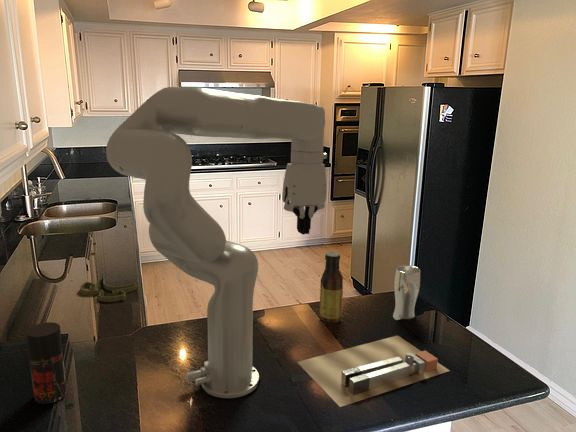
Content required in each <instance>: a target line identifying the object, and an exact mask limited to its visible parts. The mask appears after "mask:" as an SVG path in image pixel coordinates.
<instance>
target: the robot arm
mask: <svg viewBox="0 0 576 432" xmlns="http://www.w3.org/2000/svg"><path fill="white" fill-rule="evenodd" d="M325 111H326V110H325V108H324V107H323V106H321V105H317V104H314V103H310V102H303V101H297V100H289V99H287V100H285V99H279V98H273V97H269V96H268V97H267V96H262V95H256V94H248V93H242V92H233V91H227V90H221V89H214V88H207V87H202V86H201V87H199V86H167V87H163V88H161V89H160V90H158V91H156V92H155V93H153V94H152V95H151V96H150V97H149V98H148V99H146V100H145V101H144V102H143V103H142V104H141V105H140V106H139V107H138V108H137V109H136V110H134V112H133V113H132V114H130V116H128V117H127V118H126V119H125V120H124V121H123V122H121V124H120V125H119V126H118V127H117V128H116V129H115V130H114V131H113V132H112V134H111V135H110V137H109V138H108V140H107V143H106V149H105V150H106V151H105V152H106V159H107V162H108V164H109V165H110V166H111V168H112V169H113V170H114V171H116V172H117V173H119V174H120V175H123V176H125V177H126V176H127V177H130V178H134V179H140V180H145V183H144V189H143V190H144V191H143V200H142V201H143V205H142V206H143V207H142V208H143V209H142V210H143V213H144V216H145V218H146V221H147V222H148V223H149V225H148V235H149V240H150V243H151V244H152V246H153V247H154V249H155V250H156V251H157V252H158V253H159V254H161V255H162V256H163V257H164V258H166V260H168V261H169V262H171V264H173V265H175V267H177V268H178V269H179V270H180V271H183V273H185V274H186V275H188V276H190V277H192V278H194V279H197V280H198V281H202V282H205V283H207V284H210V285H212V286H213V287H214V292H212V293H213V294H212V295H211V297H210V299H209V300H208V303H207V309H206V311H207V312H206V313H207V314H206V319H207V360H206V361H204V362H203V366H202V367H200V368H199V369H197V370H192V371H187V372H185V379H186V381H187V382H188V383H189V382H193V381H194V382H195V386H200V385H201V388H202V390H204V391H205V392H206V394H208V395H210V396H213V397H215V398H220V399H236V398H240V397H244V396H247V395H248V394H250V393H252V392H253V391H254V390H256V388H258V385H259V383H260V373H259V372H258V370H257V369H256V367H254V366H253V350H254V349H253V348H254V347H253V343H254V342H253V335H254V333H253V331H254V328H253V325H254V324H253V323H254V322H253V321H254V318H253V317H254V315H253V314H254V312H253V311H254V294H255V288H256V287H255V286H256V282H257V279H258V273H259V262H258V261H259V260H258V258H257V256H256V254H255V253H254V251H252V249H250V248H249V247H246V246H245V245H243V244H241V243H236V242H234V241H230V240H227V237H226V235H225V234H226V233H225V231H224V230H223V228H222V227H221V225H220V224H219V223H218V222H217V220H216V219H214V218H213V217H212V216H211V215H210V214H209V213H208V212H207V211H206V210H205V209H204V208H203V206H201V204H199V202H197V200H196V199H195V198H194V197H193V195H192V194H191V191H190V178H191V172H192V166H193V158H192V152H191V149H190V146H189V145H188V143H187V142H186V140H185V139H184V138H183V137H181V136H180V135H186V136H195V137H208V138H233V139H248V140H250V139H251V140H262V139H263V140H265V139H266V140H267V139H283V140H284V139H285V140H291V148H290V163H287V164H286V168H285V172H284V175H283V176H284V177H283V184H282V185H283V186H282V196H281V197H282V202H283V203H284V206H283V210H285V211H286V212H291V213H293V214H294V215H295V216H296V229H297V232H298V233H300V234H301V235H302V236H303V235H304V236H305V235H309V234H310V230H311V229H312V228H311V227H312V226H311V223H312V218H314V215H315V214H316V212H317V211H320V210H322V209H325V207H326V205H325V203H326V200H327V188H328V187H327V173H326V172H327V171H326V166H325V164H324V163H323V162H324V160H326V159H327V158H328V154H327V153H326V152H325V151H324V143H325V142H324V141H325V140H324V139H325V138H324V137H325V126H326V112H325ZM254 370H255V371H254Z"/></svg>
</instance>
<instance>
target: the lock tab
mask: <svg viewBox="0 0 576 432" xmlns="http://www.w3.org/2000/svg"><path fill="white" fill-rule="evenodd" d="M421 351H422V352H419V353H416V355H415V356H417V357H418V358H420V359H421V360H422V361H424V362H425V366H424V370H425V371H427V372H428V371H431V370H434V369H437V362H438V363H439V361H438V360H439V359H438V358H437V357H436V356H434V355H433V354H432V353H429V352H428V351H427V350H421Z"/></svg>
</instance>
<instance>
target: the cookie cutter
mask: <svg viewBox="0 0 576 432" xmlns="http://www.w3.org/2000/svg"><path fill="white" fill-rule="evenodd" d="M106 281H107V280H106V278H102V277H101V278H99V279H98V280H97V281H96V283H94V282H89V281H85V282H83V283H82V284H81V285H80V287H79V288H80V289H79V290H80V294H81V295H83V296H97V299H98V300H97V301H99V302H103V303H104V302H105V303H115V302H120V301H124V302H125V301H126V297H127V293H131V292H134V291H137V290H139V289H138V284H136V283H132V284H131V283H130V284H126V285H119V286H118V285H116V286H114V285H107V284H106V283H107V282H106ZM101 284H103V289H104V290H106V291H109V292H112V294H111V295H112V296H105V295H104V290H103V289H98V287H100V285H101ZM86 288H89V290H87V289H86Z"/></svg>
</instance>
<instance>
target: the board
mask: <svg viewBox="0 0 576 432" xmlns="http://www.w3.org/2000/svg"><path fill="white" fill-rule="evenodd" d="M422 351H423V350H420V349H418V348H417V347H416V346H414V345H412V344H411V343H410V342H408V341H407V340H405V339H404V338H402V337H401V336H400V335H394V336H390V337H387V338H382V339H379V340H375V341H370V342H368V343H363V344H360V345H359V344H358V345H356V346H353V347H349V348H344V349H341V350H337V351H334V352H330V353H326V354H322V355H319V356H314V357H310V358H308V359H307V358H306V359H303V360H299V361H297V362H296V363H297V364H298V365H299V366H300V367H301V368H302V369H303V370H304V371H305V372H306V373H307V375H308V376H310V377H311V379H312V380H313V381H314V382H315V383H316V384H317V385H318V386H319V387H320V388H321V389H322V390H323V391H324V392H325V393H326V394H327V395H328V396H329V398H330V399H332V401H333V402H335V404H336V405H338V407H339V408H342V407H345V406H348V405H351V404H354V403H357V402H360V401H362V400H365V399H366V400H367V399H368V398H372V397H374V396H379V395H381V394H384V393H387V392H391V391H393V390H396V389H399V388H402V387H406V386H408V385H411V384H412V385H413V384H415V383H419V382H420V381H424V380H426V379H427V380H428V379H430V378H433V377H436V376H438V375H441V374H444V373H447V372H451V370H449V368H447V367H446V366H444V365H442V364H440V363H439V361H438V362H437V369H434V370H431V371H428V372H427V371H425V370H424V374H423V375H419V376H418V375H417V374H415V373H412V374H409V378H406V379H403V380H400V381H397V382H394V383H390V384H387V385H384V386H381V387H378V388H375V389H372V390H369V391H366V392H363V393H360V394H357V395H354V396H353V395H352V394H351V393H350V392H349V387H344V386H343V385H342V384H341V377H342V371H344V370H348V369H352V368H356V367H360V366H364V365H368V364H372V363H376V362H379V361H383V360H387V359H391V358H395V357H400V358H401V359H402V360H403V362H402V363H404V362H405V356H406V354H407V353H410V352H411V353H412V354H414V355H416V353H419V352H422Z"/></svg>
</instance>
